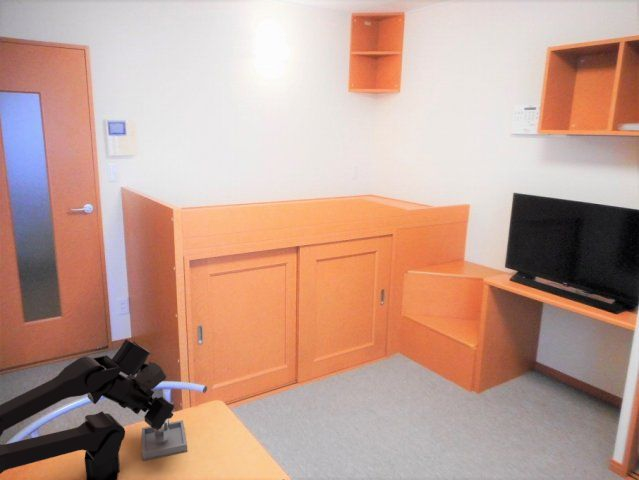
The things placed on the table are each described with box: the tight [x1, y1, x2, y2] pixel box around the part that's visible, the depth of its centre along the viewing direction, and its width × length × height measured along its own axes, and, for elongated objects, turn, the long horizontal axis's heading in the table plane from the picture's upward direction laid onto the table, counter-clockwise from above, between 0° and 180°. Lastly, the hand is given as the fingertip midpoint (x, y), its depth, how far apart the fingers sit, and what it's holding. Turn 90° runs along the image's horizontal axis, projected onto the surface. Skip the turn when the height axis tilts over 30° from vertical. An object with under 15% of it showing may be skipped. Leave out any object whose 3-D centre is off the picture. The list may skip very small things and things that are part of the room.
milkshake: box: [153, 401, 174, 442], centre depth 118 cm, size 5×5×10 cm
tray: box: [141, 419, 188, 462], centre depth 119 cm, size 10×10×2 cm
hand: (166, 412), depth 118 cm, fingers closed on milkshake, 4 cm apart
